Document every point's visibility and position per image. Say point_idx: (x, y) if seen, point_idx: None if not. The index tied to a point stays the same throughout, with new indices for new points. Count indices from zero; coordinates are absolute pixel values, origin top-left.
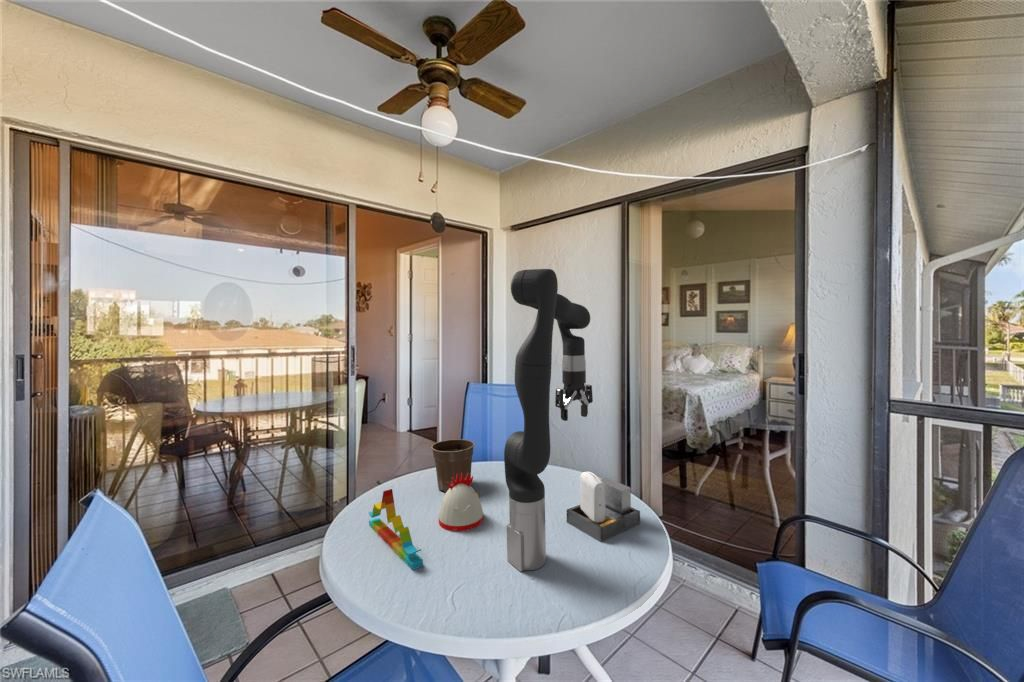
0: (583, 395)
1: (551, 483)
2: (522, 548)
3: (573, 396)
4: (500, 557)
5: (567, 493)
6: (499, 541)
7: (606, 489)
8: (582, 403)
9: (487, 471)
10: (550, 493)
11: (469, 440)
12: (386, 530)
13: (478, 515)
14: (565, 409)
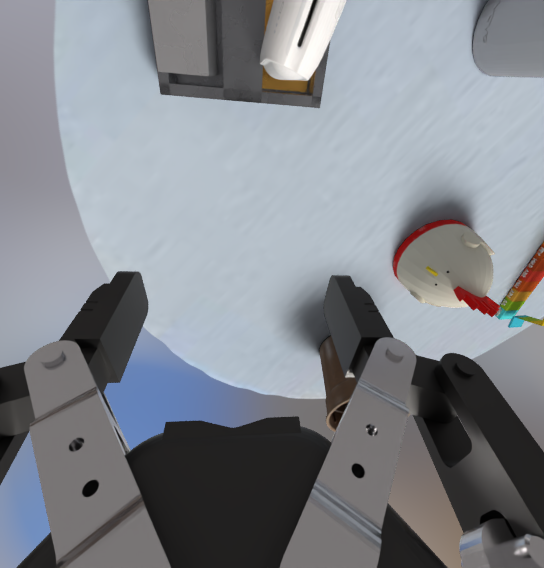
0: (84, 485)
1: (199, 274)
2: None
3: (339, 481)
4: (524, 88)
5: (202, 219)
6: (467, 145)
7: (207, 11)
8: (101, 389)
9: (264, 364)
10: (234, 241)
11: (326, 421)
12: (531, 283)
13: (441, 232)
14: (379, 342)
